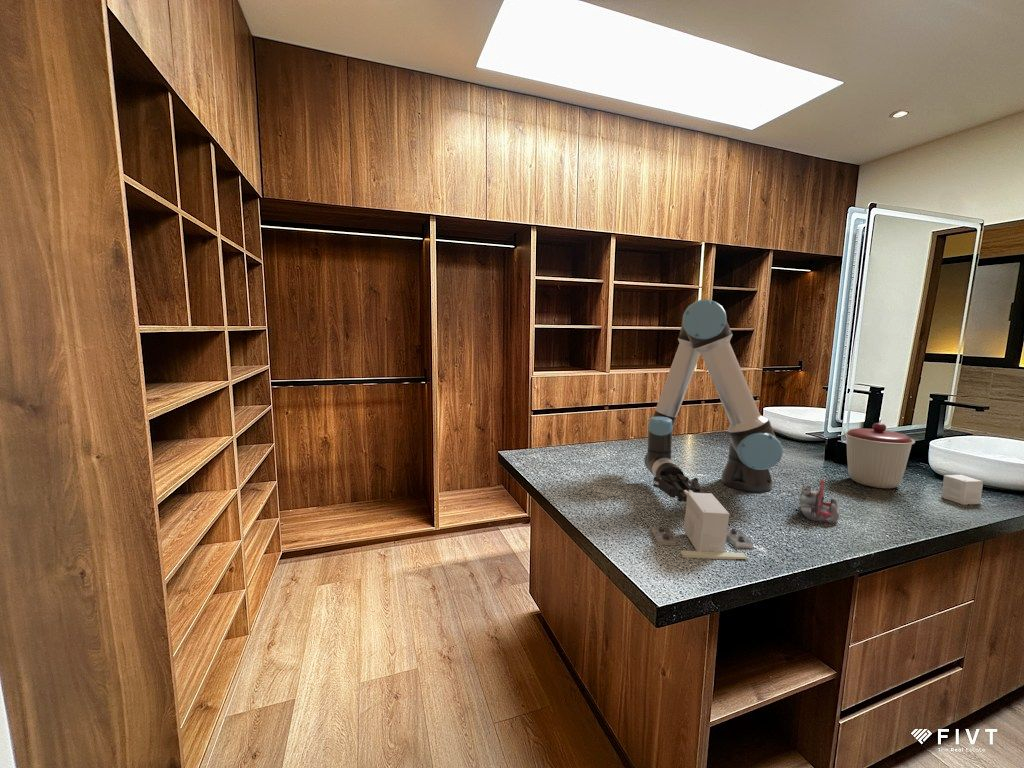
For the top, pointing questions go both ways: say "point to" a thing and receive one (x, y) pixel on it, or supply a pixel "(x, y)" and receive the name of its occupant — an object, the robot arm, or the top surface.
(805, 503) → the grey red lumpy piece
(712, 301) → the robot arm
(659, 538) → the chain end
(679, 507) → the top surface
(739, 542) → the block
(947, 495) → the skincare box
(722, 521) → the skincare box
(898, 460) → the canister
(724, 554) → the cream long thin bar
